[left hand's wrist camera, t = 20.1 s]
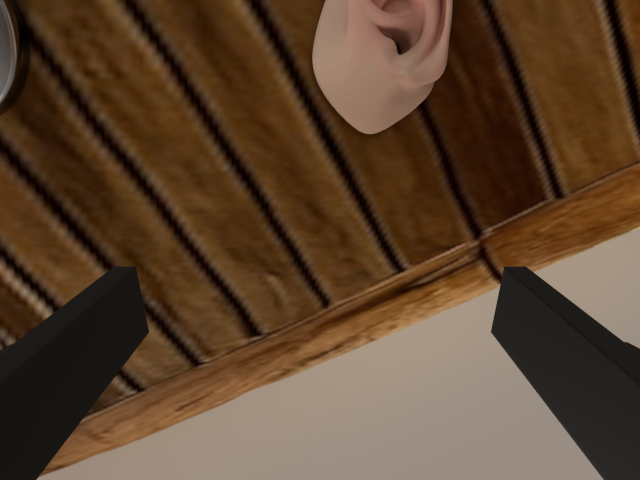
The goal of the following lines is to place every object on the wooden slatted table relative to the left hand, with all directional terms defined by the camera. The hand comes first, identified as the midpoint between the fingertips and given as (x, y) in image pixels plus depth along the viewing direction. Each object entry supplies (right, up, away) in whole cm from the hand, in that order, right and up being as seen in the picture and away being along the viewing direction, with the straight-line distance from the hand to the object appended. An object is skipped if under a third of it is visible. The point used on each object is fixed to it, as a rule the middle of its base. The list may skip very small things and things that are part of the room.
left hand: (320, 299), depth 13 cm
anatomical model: (+5, +18, +17) cm, 25 cm away
